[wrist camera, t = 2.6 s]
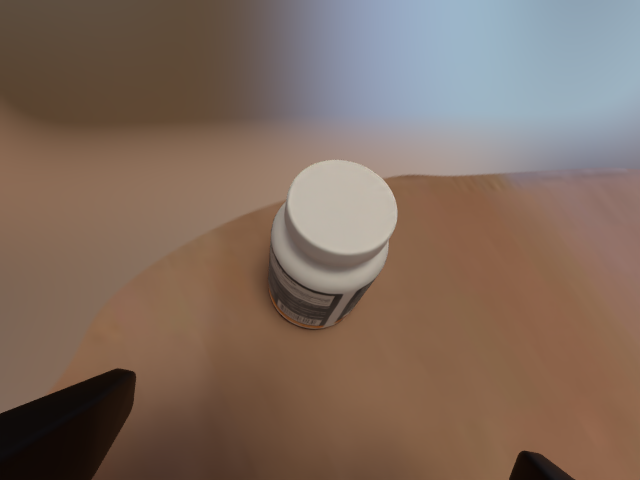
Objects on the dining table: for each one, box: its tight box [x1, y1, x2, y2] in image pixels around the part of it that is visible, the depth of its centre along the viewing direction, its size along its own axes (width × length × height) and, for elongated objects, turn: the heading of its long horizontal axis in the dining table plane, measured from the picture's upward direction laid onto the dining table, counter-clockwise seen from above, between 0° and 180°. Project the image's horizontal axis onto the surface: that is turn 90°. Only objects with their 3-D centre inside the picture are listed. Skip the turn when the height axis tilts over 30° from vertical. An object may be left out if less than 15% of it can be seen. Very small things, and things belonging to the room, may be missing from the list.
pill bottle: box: [268, 160, 397, 329], centre depth 20 cm, size 6×6×10 cm
